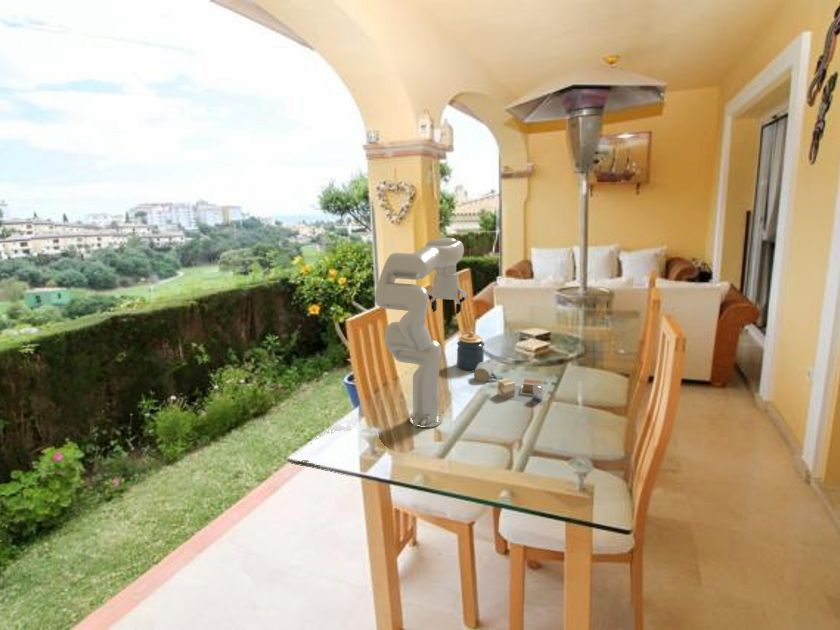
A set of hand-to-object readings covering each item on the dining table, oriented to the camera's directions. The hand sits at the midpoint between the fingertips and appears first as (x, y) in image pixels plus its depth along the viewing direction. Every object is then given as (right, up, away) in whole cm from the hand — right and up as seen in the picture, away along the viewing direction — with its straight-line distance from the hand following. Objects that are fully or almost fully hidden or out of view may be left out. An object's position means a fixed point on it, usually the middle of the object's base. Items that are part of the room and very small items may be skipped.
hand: (446, 312), depth 194 cm
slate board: (+32, -34, +9) cm, 48 cm away
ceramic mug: (+19, -31, +24) cm, 44 cm away
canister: (+14, -26, +41) cm, 51 cm away
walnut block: (+37, -33, +11) cm, 51 cm away
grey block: (+37, -35, +2) cm, 51 cm away
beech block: (+25, -34, +6) cm, 43 cm away
